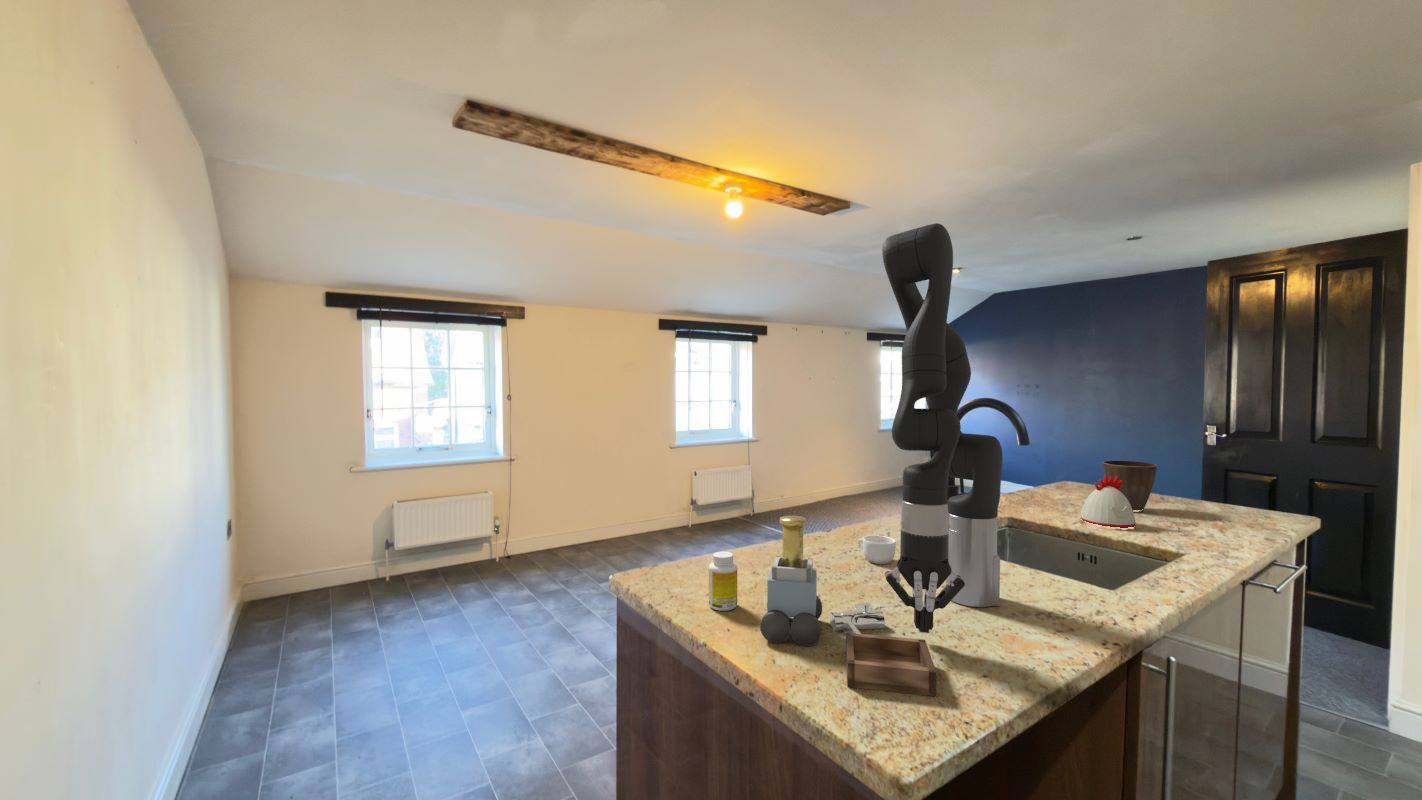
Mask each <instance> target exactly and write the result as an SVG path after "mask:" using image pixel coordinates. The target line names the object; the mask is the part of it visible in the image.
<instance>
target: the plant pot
mask: <svg viewBox="0 0 1422 800" xmlns="http://www.w3.org/2000/svg"><path fill="white" fill-rule="evenodd" d="M1102 467H1103V473H1104V476H1107V478H1108V481H1109V476H1112V478H1113V482H1114V479H1115V477H1116V476H1117V477H1118V481H1119V482H1120V481H1121V480H1122V481H1123V483H1122V485H1121V487H1120V489H1119V491H1120V492H1121V493H1122V494H1123V495H1124V496H1125V497H1126V498H1127V500H1128V501H1129V503H1130V505H1131V508H1132V510H1142V509H1145V507H1146V505H1147V503H1148V501H1149V498H1150V495H1151V493H1152V490H1153V487H1154V483H1155V479H1156V475H1157V470H1158V465H1157V464H1156V463H1151V462H1145V461H1134V460H1105V461H1102Z"/></svg>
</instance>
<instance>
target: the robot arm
mask: <svg viewBox="0 0 1422 800" xmlns="http://www.w3.org/2000/svg"><path fill="white" fill-rule="evenodd" d="M952 243H953V242H952V239H951V236H950V233H949V232H948V229H946V227H945V226H944V225H943V224H941V223H937V222H935V223H932V224H926V225H925V226H920V227H917V228H913V229H909V230H906V231H903V232H899V233H895V234H893V235H891V236H887V237H886V239H884V242H883V244H882V251H881V253H882V260H883V264H884V265H883V266H884V269H885V272H886V275H887V278H888V281H889V284H890V286H891V289H892V292H893V294H894V297H895V300H896V302H897V305H898V308H899V311H900V314H901V316H902V319H903V321H904V326H905V329H906V332H907V333H906V335H905V337H904V340H903V343H902V347H901V348H902V349H901V375H902V376H901V392H900V397H899V402H898V406H897V409H896V412H895V416H894V419H893V423H892V427H891V437H892V440H893V442H894V444H895V446H896V447H898V449H900V450H902V451H907V452H909V451H910V452H912V451H913V452H914V451H915V452H917V451H918V452H919V451H920V452H934V455H933V456H932V458H931V459H929V460H928V461H926V462H922V463H917V464H916V463H915V464H911V465H908V466H906V467H905V468H904V469H903V473H902V501H901V503H902V505H901V510H900V542H899V543H900V544H899V545H900V557H899V558H898V561H897V562H896V567H894V569H891V570H890V571H889V570H886V571H885V572H884V577H885V579H886V583H888V585H890V587H891V588H892V590H893V591H894V592H895V594H896V595H897V596H898V597H899V599H900V600H901V601H902V603H903V604H904V605H905V607H912V608H913V624H914V626H915V629H917V630H918V633H925V634H929V633H930V630H931V631H932V630H933V628H934V612H935V611H936V610H938V609H945V608H946V606H948V605H949V604H950V602H951V601H952V602H954V603H956V604H959V605H962V606H966V607H973V608H988V607H992V606H996V607H997V606H999V607H1000V598H1001V597H1000V593H1001V592H1000V589H1001V587H1000V585H1001V583H1000V582H1001V580H1000V579H1001V557H1000V555H998V509H999V505H1000V501H1001V500H1000V499H1001V487H1002V486H1001V483H1002V473H1003V460H1004V459H1003V449H1002V445H1001V442H1000V441H999V439H998V438H997V437H995V436H994V435H991V434H990V435H989V434H977V433H965V432H962V431H961V429H962V428H961V427H962V426H961V421H960V419H959V417H958V411H959V407H960V404H961V402H962V400H963V398H964V395H965V393H966V392H967V389H968V386H969V383H970V381H971V376H972V369H971V364H970V360H969V357H968V356H969V355H968V352H967V348H966V345H965V342H964V340H963V338H962V337H961V335H960V334H959V333H958V332H957V331H956V330H955V329H954V328H953V326H951V325H950V324H949V323H948V315H949V314H948V313H949V307H950V306H949V305H950V298H951V297H950V296H951V289H952V277H953V269H954V252H953V251H954V250H953V244H952ZM927 280H928V287H927V289H926V290H927V292H926V295H925V297H924V298H923V296H922V294H921V292H920V290H919V288H918V286H917V283H919V282H920V283H921V282H923V281H927ZM924 398H925V401H926V405H927V407H928V408H915V404H916V403H917V402H918V401H919V400H921V399H924ZM949 477H951V478H955V479H960V480H961V479H962V480H968V481H972V486H971V490H970V491H969V492H966V493H963V494H958V495H957V494H956V495H952V496H950V497H949V498H948V496H949V495H948V492H949V491H948V490H949V489H948V487H949V486H948V485H949V483H948V482H949ZM900 575H901V576H902V577H903V579H904V580H905V581H906V583H907V584H908V585H909V586H910V587H911V590H912V595H910V594H909V593H908V592H907V591H906V590H905V588H904V587H903V585H902V584H901V581H902V579H901V577H900ZM944 583H945V587H944V588H943V589H942V590H941V591H940V592H939V593H938V594H937V589H939V588H940V587H941V586H942V585H943V584H944ZM923 590H924V591H923ZM923 592H924V593H923Z"/></svg>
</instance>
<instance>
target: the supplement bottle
mask: <svg viewBox="0 0 1422 800" xmlns="http://www.w3.org/2000/svg"><path fill="white" fill-rule="evenodd" d="M734 559H735V558H734V553H732V552H730V551H717V552H714V553H713V555H712V562H711V563H710V564H709V565H708V605H709V606H710V608H711V609H712V610H716V611H720V612H726V611H727V612H728V611H731V610H734V609H736V607H737V606H738V565H737V563H735V562H734Z"/></svg>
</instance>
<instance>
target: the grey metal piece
mask: <svg viewBox="0 0 1422 800" xmlns="http://www.w3.org/2000/svg"><path fill="white" fill-rule="evenodd" d="M853 608H854V609H855V610H848V611H847V610H845V611H839V612H838V611H831V612H830V613H829V624H830V627H831V628H832V629H833V632H838V631H839V632H841V631H843V632H844V634H845V635H846V633H855V634H862V633H861V631H862V630H877V629H884V628H885V623H886V621H885V615H884V613H883V611H882V610H881V609H872V604H871V603H870V602H865V603H861V604H855V605H854V607H853Z"/></svg>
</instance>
